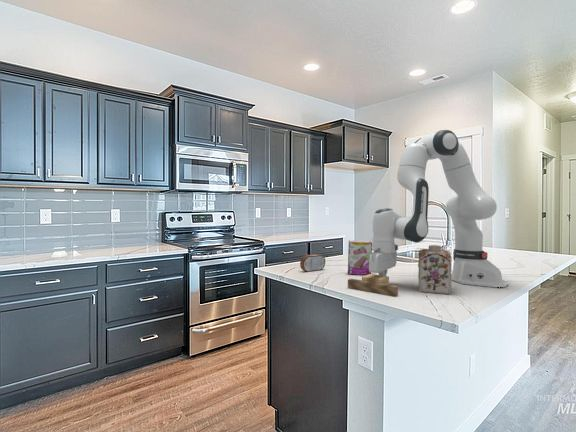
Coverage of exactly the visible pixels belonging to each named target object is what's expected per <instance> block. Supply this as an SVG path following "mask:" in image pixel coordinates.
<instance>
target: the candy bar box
mask: <svg viewBox="0 0 576 432" xmlns="http://www.w3.org/2000/svg"><path fill="white" fill-rule="evenodd" d="M372 243H373V241H371V240H348V247H347V248H348V250H347V251H348V255H347V274H348V275H355V276H366V275H369V274H372V272H370V271H369V259H370V255H371V254H372V253H373V251H372Z"/></svg>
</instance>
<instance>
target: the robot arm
mask: <svg viewBox="0 0 576 432" xmlns="http://www.w3.org/2000/svg"><path fill="white" fill-rule="evenodd" d="M436 159H439V160H440V162H441V164H442V165H441V166H442V169H443V173H444V176H445V179H446V183H447V184H448V187H449V189H451V190H452V191H453V192H454V193H456V195H457V196H454V197H451V198H449V199H448V200H447V202H446V204H445V210H446V213H447V214H448V216H449V217H450V219H451V221H452V225H453V229H454V249H453V251H452V252H453V259H452V260H453V266H452V270H451V281H454V282H456V283H459V284H462V285H469V286H477V287H487V288H488V287H490V288H497V287H499V288H500V287H503V288H506V287H508V286H507V285H508V281H506V280H505V279H504V280H503V276H502V272H501V270H500V268H499V267H498V266H496V265H495V264H494V263H492V262H491V261H490V260H488V252H487V251H485V250H483V241H484V240H483V239H484V238H483V237H484V235H483V231H482V230H481V229H480V228H479V226H478V223H477V221H481V220H486V219H490V218H492V217H493V216H494V215H495V214H496V213H497V212H496V211H497V207H498V204H497V203H496V200H495V199H494V198H493V197H492V196H490V195H489V194H487V193H486V192H485V190H484V189H483V188H482V186H481V185H480V183H479V181H478V180H477V177H476V175H475V172H474V171H473V167H472V164H471V160H470V158H469V155H468V154H467V152H466V149H465V147H464V146H463V144H462V143H460V142H459V139H458V136H457V135H456V134H455V132H453V131H452V130H449V129H442V130H441V129H440V130H438V131H435V132H432V133H429V134H426V135H425V136H423V137H420V138H418V139H417V140H416V141H414V142H412V143H409V144H408V145H406V146H405V148H404V149H403V151H402V155H401V158H400V161H399V166H398V169H397V176H396V177H397V182H398V183H399V184H400V186H401V187H402V188H404V189H406V190H408V191H410V192H411V194H412V198H413V199H412V210H411V215H410V216H402V215H400V214H398V213H396V212H395V211H394V209H392V208H389V207H388V208H387V207H386V208H379V209H377V210H376V211H374V214H373V217H372V219H373V220H372V231H373V235H372V237H373V238H372V254H371V255H370V259H369V271H370V272H371V274H378V275H382V276H388V275H387V274H388V271H389V270H390V269H392V268H395V267H396V265H397V260H398V258H397V257H398V252H397V251H398V250H399V245H397V244H396V243H395V239H398V240H403V241H404V240H405V241H408V242H412V243H420V242H422V241H423V240H424V239H426V237H427V236H428V233H429V222H428V214H429V213H428V212H429V211H428V210H429V197H430V196H429V195H430V194H429V193H430V192H429V189H430V188H429V183H428V181H427V180H426V170H427V164H428V161H430V160H436ZM499 288H498V289H499ZM500 289H501V288H500Z"/></svg>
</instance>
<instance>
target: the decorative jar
mask: <svg viewBox="0 0 576 432" xmlns="http://www.w3.org/2000/svg"><path fill="white" fill-rule="evenodd" d="M452 261H453V259H452V253H451V252H450V251H449V250H445V249H442V245H437V244H432V245H428V248H422V249H419V252H418V264H417V267H418V273H417V274H418V276H417V277H418V278H417V279H418V291H419V293H428V294H429V293H431V294H440V295H451V292H452V280H451V275H452V271H453V268H452Z"/></svg>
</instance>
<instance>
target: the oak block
mask: <svg viewBox="0 0 576 432" xmlns="http://www.w3.org/2000/svg"><path fill="white" fill-rule="evenodd" d="M389 277H390V276H388V275H386V276H382V275H379V274H376V273H371V274H369V275H362V277H361V280H363V281H370V282H376V283H382V284H388V285H390V278H389Z"/></svg>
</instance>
